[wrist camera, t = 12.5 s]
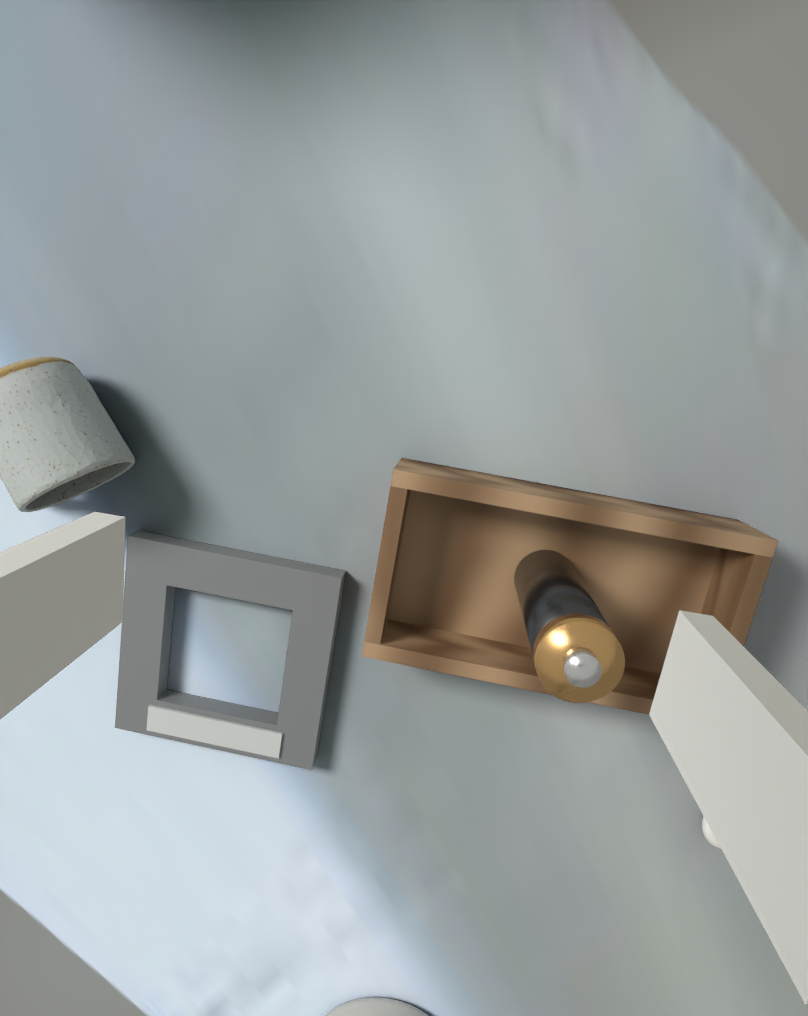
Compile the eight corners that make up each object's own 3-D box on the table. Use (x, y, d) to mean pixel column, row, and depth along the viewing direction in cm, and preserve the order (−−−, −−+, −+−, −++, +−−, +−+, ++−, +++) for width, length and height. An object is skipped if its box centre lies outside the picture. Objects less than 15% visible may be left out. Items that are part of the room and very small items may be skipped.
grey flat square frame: (139, 530, 42) (126, 536, 41) (345, 570, 41) (341, 578, 40) (126, 716, 46) (113, 729, 44) (316, 757, 45) (311, 771, 43)
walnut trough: (373, 623, 42) (361, 656, 37) (401, 457, 39) (393, 469, 35) (686, 686, 41) (716, 728, 36) (737, 519, 38) (778, 540, 33)
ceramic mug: (93, 350, 40) (10, 346, 33) (157, 454, 41) (90, 471, 34) (-18, 423, 42) (-119, 434, 35) (45, 520, 43) (-40, 550, 36)
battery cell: (520, 544, 39) (548, 621, 26) (582, 555, 39) (640, 639, 26) (507, 601, 40) (528, 702, 27) (568, 613, 40) (617, 720, 27)
